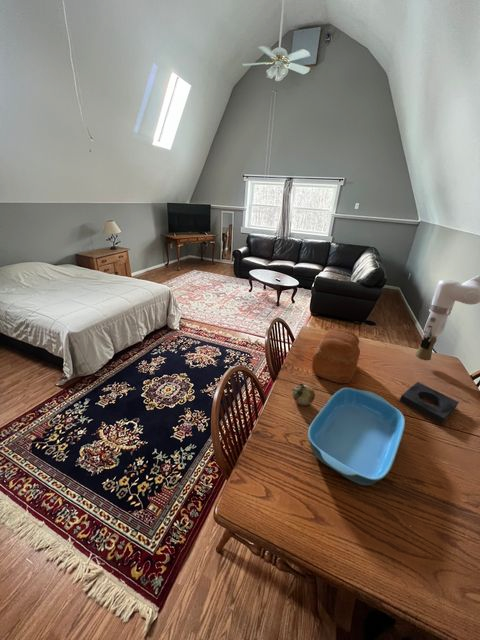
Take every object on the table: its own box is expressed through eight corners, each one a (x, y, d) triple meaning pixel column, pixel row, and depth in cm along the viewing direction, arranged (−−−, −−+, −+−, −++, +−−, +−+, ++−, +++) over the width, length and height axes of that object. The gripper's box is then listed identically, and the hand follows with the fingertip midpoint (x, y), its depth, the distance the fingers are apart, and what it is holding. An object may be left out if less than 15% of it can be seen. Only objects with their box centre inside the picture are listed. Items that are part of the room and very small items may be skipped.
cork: (429, 361, 120) (437, 340, 115) (414, 356, 123) (421, 335, 119) (431, 356, 124) (439, 335, 119) (417, 351, 127) (424, 331, 123)
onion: (307, 412, 94) (310, 394, 90) (287, 401, 98) (290, 384, 95) (316, 401, 99) (320, 384, 96) (297, 391, 104) (300, 374, 100)
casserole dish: (374, 514, 64) (382, 496, 61) (292, 459, 77) (296, 441, 74) (404, 424, 91) (411, 408, 87) (340, 394, 103) (344, 379, 100)
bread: (307, 374, 114) (313, 340, 106) (320, 351, 131) (326, 320, 124) (350, 389, 106) (360, 353, 99) (357, 363, 123) (366, 330, 116)
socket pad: (455, 408, 99) (458, 402, 98) (441, 425, 91) (444, 418, 90) (415, 387, 109) (417, 381, 108) (399, 401, 101) (401, 395, 100)
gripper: (443, 316, 106) (428, 355, 114) (457, 307, 116) (443, 344, 123) (422, 310, 112) (409, 348, 119) (438, 302, 121) (425, 337, 129)
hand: (427, 345), depth 121 cm, fingers closed on cork, 5 cm apart
